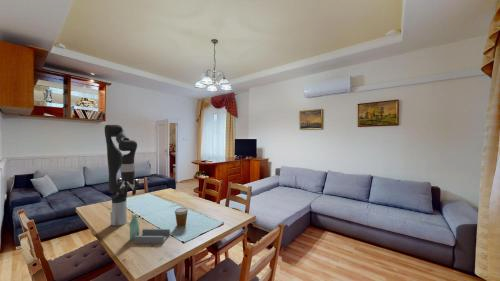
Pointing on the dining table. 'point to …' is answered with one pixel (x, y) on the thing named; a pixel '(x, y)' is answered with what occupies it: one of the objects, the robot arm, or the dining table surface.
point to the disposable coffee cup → (181, 216)
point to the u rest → (152, 236)
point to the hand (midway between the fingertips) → (128, 194)
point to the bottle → (134, 227)
